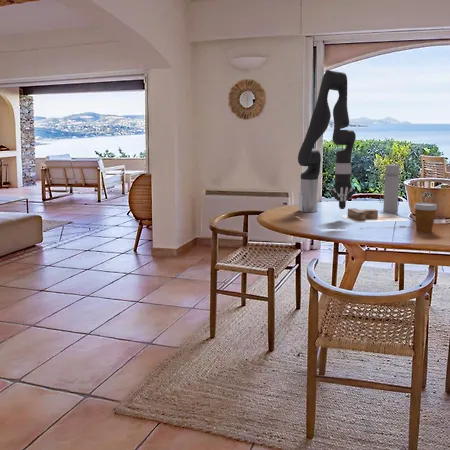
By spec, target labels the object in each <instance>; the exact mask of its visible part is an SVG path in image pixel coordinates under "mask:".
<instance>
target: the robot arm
mask: <svg viewBox="0 0 450 450" xmlns="http://www.w3.org/2000/svg"><path fill="white" fill-rule="evenodd" d="M330 91H337V92H338V97H337V100H336V103H335V104H334V106H333V107H332V108H333V109H332V114H331V110H330V109H331V108H330V105H329V102H328V97H329V92H330ZM331 117H333V123H334V124H333V125H334V126H333V132H332V138H331V139H332V143H333V144H334V145H336V146H345V148H344V149H338V150H337V151H336V153H335V166H334V185H333V188H331V189H329V190H328V191H329V193H330V194H331V196H332V197H333V198H334V200H336V201H338V207H339V210H345V209H346V205H347V201H349V200H350V199H351V198H352V197H353V195H354V194H355V193H356V191H357V190H356V189H355V188H353V186H352V184H351V183H352V153H353V149H354V145H355V142H356V137H357V136H356V132H355V131H354V130H353V129H344V128H347V127H348V126H349V125H350V115H349V111H348V76H347V73H346V72H344V71H339V70H333V69H327V70H326V71H325V72H324V73H323V75H322V79H321V83H320V88H319V91H318V95H317V100H316V103H315V106H314V109H313V112H312V115H311V118H310V122H309V126H308V128H307V132H306V133H305V137H304V139H303V142H302V144H301V146H300V148H299V152H298V155H297V162H298V164H299V166H301V167H307V169H306V170H305V171H303V172H301V174H300V188H299V193H298V211H300V212H302V213H314V212H316V213H317V212H318V195H319V194H318V193H319V192H318V191H319V175H320V173H321V163H322V160H321V159H322V158H321V157H322V155H321V151H320V150H319V149H318V148H314V146H315V144H316V143H317V142H318V140H319V139H320V138H321V137H322V136H323V135H324V134H325V132H326V131H327V129H328V128H329V124H330V121H331ZM336 193H337V194H336Z"/></svg>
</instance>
